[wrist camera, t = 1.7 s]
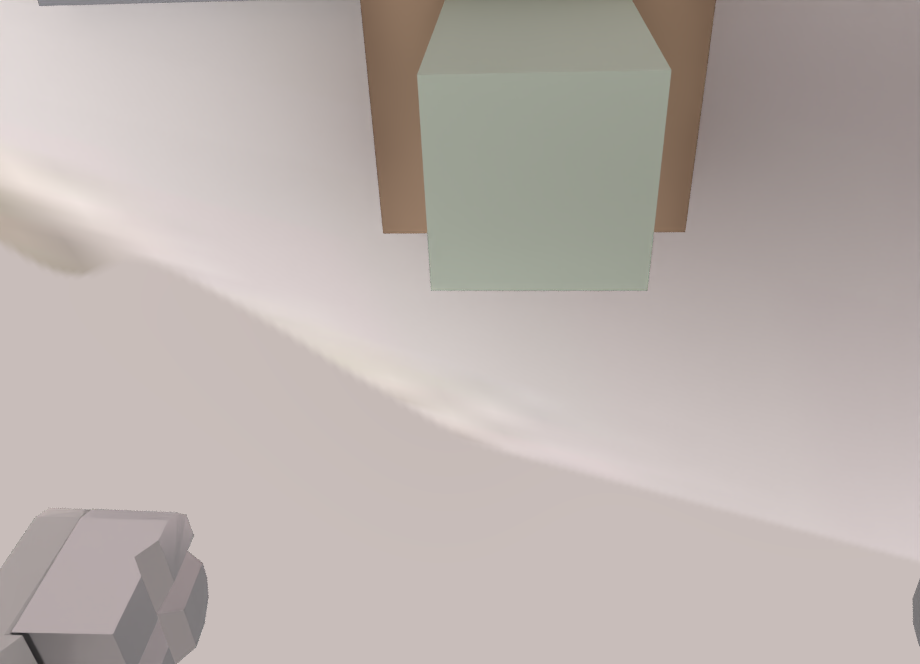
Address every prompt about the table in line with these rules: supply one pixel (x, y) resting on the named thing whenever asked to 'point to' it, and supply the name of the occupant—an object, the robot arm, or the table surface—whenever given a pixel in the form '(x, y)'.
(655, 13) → the walnut stand
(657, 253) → the table surface
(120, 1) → the charcoal tray
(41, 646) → the robot arm
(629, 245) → the plug block
